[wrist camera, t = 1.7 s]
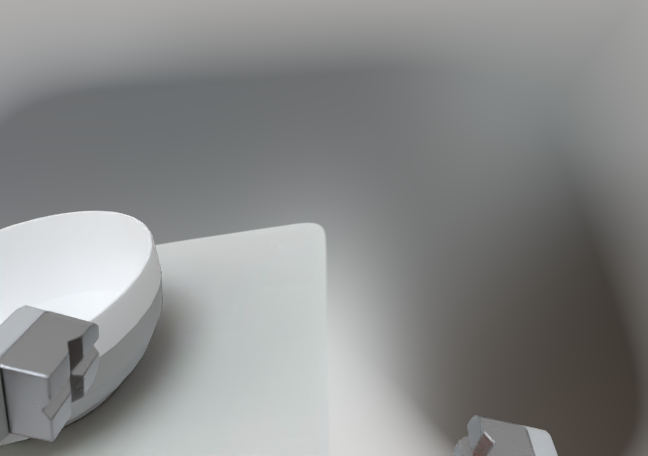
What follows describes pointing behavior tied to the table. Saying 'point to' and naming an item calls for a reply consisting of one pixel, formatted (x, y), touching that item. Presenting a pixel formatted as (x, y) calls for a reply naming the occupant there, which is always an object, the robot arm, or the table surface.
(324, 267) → the table surface
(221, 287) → the table surface
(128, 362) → the bowl
